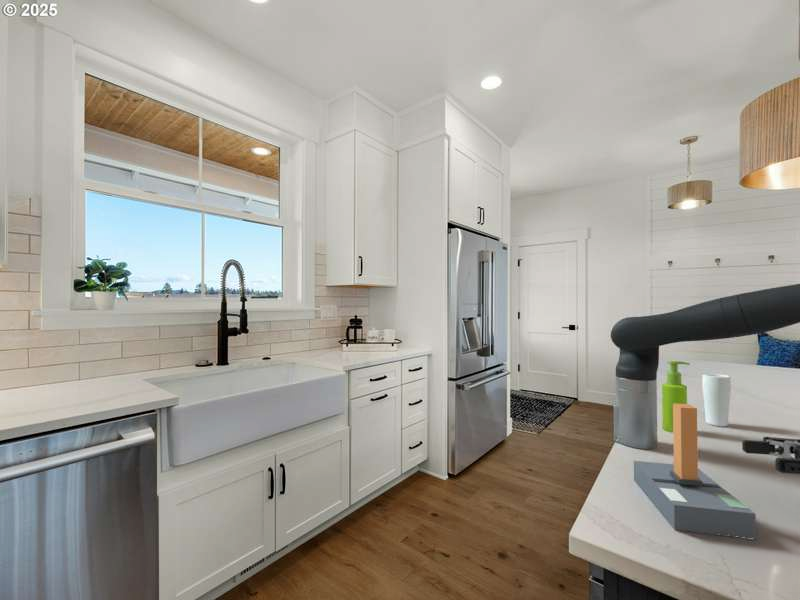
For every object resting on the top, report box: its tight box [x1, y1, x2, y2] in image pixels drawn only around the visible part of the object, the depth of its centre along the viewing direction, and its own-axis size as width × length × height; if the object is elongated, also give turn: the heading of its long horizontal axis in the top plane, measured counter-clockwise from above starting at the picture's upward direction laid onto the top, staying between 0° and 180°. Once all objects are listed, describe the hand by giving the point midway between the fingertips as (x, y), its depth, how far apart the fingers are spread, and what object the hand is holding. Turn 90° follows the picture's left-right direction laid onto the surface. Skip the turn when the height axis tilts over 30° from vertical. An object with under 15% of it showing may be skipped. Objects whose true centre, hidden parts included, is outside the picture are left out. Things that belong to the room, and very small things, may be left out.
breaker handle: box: [670, 403, 702, 486], centre depth 69 cm, size 4×4×14 cm
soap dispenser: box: [661, 360, 690, 433], centre depth 110 cm, size 6×7×20 cm
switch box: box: [633, 460, 757, 540], centre depth 69 cm, size 11×18×4 cm, turn 166°
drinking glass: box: [701, 373, 732, 428], centre depth 116 cm, size 7×7×15 cm
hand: (759, 455), depth 66 cm, fingers open, 8 cm apart
